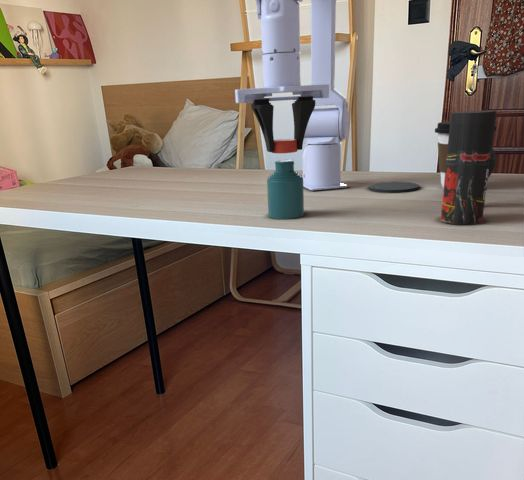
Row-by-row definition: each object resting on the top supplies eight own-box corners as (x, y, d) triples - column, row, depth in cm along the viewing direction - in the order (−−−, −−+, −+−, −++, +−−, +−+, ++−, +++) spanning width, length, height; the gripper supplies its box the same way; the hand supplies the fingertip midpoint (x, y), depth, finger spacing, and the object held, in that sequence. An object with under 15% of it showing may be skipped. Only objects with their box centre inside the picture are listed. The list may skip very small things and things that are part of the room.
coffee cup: (445, 181, 111) (451, 120, 106) (497, 185, 104) (506, 119, 99) (419, 189, 104) (424, 124, 99) (473, 194, 97) (481, 124, 92)
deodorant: (485, 224, 76) (500, 111, 70) (442, 225, 78) (453, 113, 71) (478, 215, 82) (492, 109, 75) (438, 216, 83) (448, 111, 76)
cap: (272, 151, 87) (271, 139, 86) (297, 149, 87) (297, 138, 86) (270, 153, 83) (270, 141, 83) (297, 152, 83) (296, 140, 82)
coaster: (361, 186, 111) (361, 184, 111) (404, 182, 113) (405, 180, 113) (381, 194, 102) (381, 191, 102) (428, 189, 104) (428, 187, 104)
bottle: (261, 215, 90) (259, 161, 87) (290, 210, 93) (288, 157, 89) (281, 220, 86) (279, 164, 82) (311, 215, 89) (310, 159, 85)
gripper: (238, 54, 74) (245, 156, 80) (336, 49, 77) (335, 148, 83) (230, 57, 80) (236, 152, 86) (320, 53, 83) (320, 145, 89)
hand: (284, 150), depth 85 cm, fingers closed on cap, 4 cm apart
